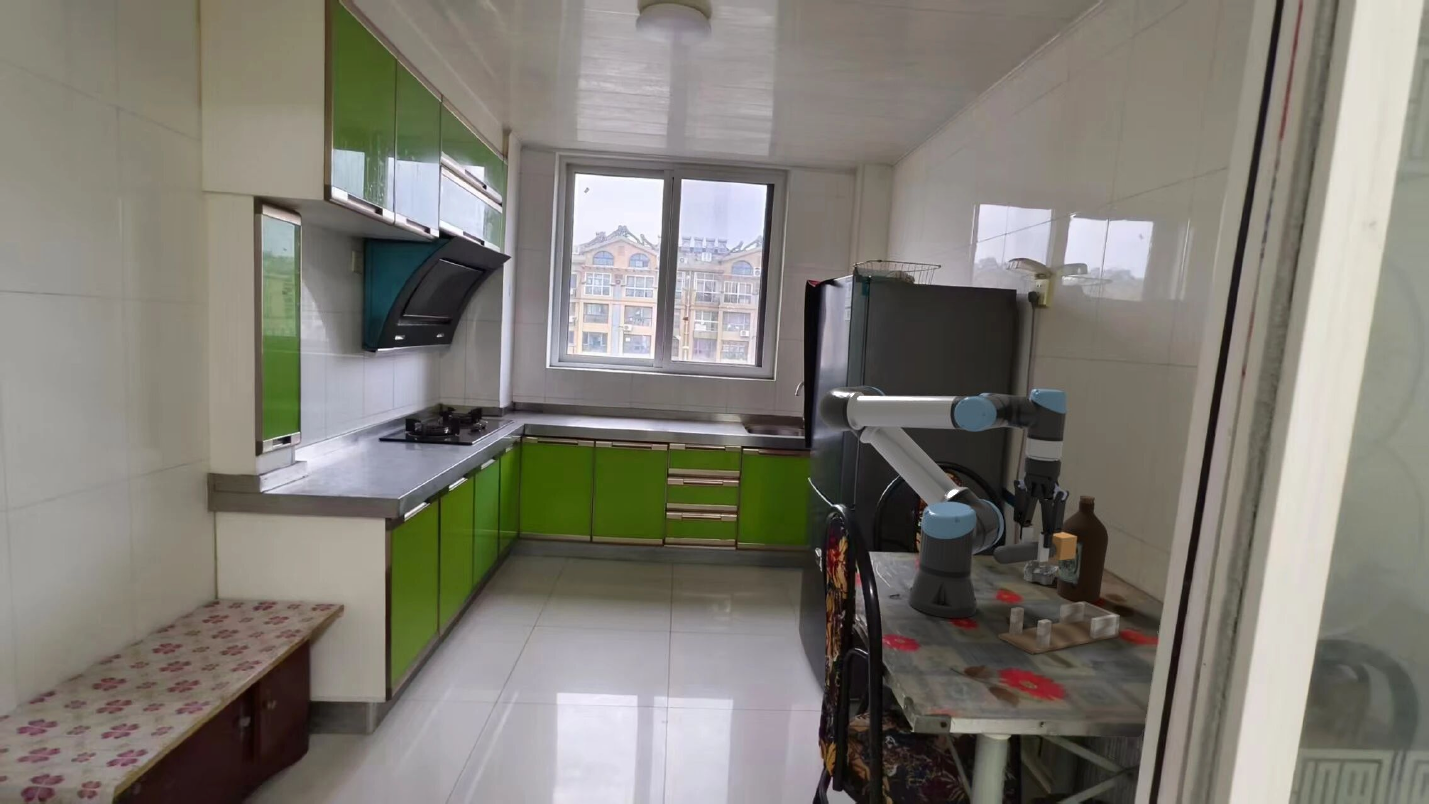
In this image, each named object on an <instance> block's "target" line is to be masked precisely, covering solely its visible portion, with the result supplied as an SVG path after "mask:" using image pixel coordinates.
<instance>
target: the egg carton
mask: <svg viewBox="0 0 1429 804" xmlns="http://www.w3.org/2000/svg"><path fill="white" fill-rule="evenodd" d="M1057 571H1058V565H1057V566H1056V565H1052V564H1051V565H1047V564H1046V563H1044V565H1040V562H1038V561H1037V560H1031V561H1026V563H1025V566H1024V567H1023V574H1024V577H1023V580H1025V581H1027V582H1029V583H1033V582H1035V583H1039V584H1041V585H1044V586H1046V585H1052V584H1053V582H1054V579H1055V578H1056V572H1057Z"/></svg>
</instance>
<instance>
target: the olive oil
mask: <svg viewBox="0 0 1429 804" xmlns="http://www.w3.org/2000/svg"><path fill="white" fill-rule="evenodd" d="M1079 499H1080V500H1079V501H1078V510H1077V511H1076V512H1075V513H1073V514H1072V515H1071V516H1070V517H1068V518H1067V519H1066V520H1065V521H1063V528H1062V532H1064V533H1067V534H1071V535H1074V536H1077V542H1076V552H1075V558H1073V559H1066V560H1058V563H1057V564H1058V565H1057V566H1058V569H1057V583H1056V584H1057V585H1056V586H1057V587H1056V593H1057V594H1058V595H1059V596H1060V597H1062V598H1064V599H1066V600H1070V601H1074V602H1076V603H1077V602H1083V601H1085V602H1087V603H1090V604H1093V603H1098V601H1099V600H1100V598H1101V597H1100V596H1101V589H1102V581H1103V577H1104V576H1103V575H1104V568H1105V563H1106V562H1105V561H1106V557H1107V556H1106V555H1107V550H1108V549H1107V548H1108V544H1109V534H1108V531H1107V528H1106V526H1105V525H1104V524H1103V523H1102V521H1101V520H1100V519H1099V518H1098V516H1097V515H1096V514H1095V513H1094V512H1095V511H1094V510H1095V506H1096V505H1095V497H1094V496H1091V495H1080V496H1079Z"/></svg>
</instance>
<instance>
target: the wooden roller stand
mask: <svg viewBox="0 0 1429 804" xmlns="http://www.w3.org/2000/svg"><path fill="white" fill-rule="evenodd" d="M1024 612H1025V608H1023V607H1021V606H1016V607H1012V608H1011V609H1010V618H1009V629H1008V632H1003V633H998V635H997V638H998V639H1000V640H1002V641H1004V640H1005V642H1006V641H1007V643H1009V644H1010V643H1011V644H1010V645H1012V646H1014V647H1016V648H1018V649H1020V648H1021V650H1022V651H1024V650H1025V653H1028V654H1030V655H1035V654H1034V653H1036V654H1039V653H1040V654H1041V653H1044V652H1050V651H1054V650H1061V649H1065V648H1069V647H1073V646H1074V647H1075V646H1078V645H1083V644H1087V643H1093V642H1099V641H1103V640H1107V639H1112V638H1115V637H1116V638H1117V637H1119V634H1120V633H1119V628H1120V627H1119V626H1120V615H1119V614H1117V613H1114V612H1112V611H1110V610H1107V609H1104V608H1101V607H1099V606H1097V605H1094V604H1093V603H1087V602H1085V601H1083V602H1077V601H1076V602H1072V603H1066V604H1061V605H1060V609H1059V618H1058V619H1059V620H1058V622H1056V623H1052V621H1051V620H1049V619H1040V620H1038V621H1037V626H1035V627H1030V628H1025V629H1023V626H1024V625H1023V624H1024V614H1025V613H1024Z"/></svg>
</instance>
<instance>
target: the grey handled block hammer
mask: <svg viewBox="0 0 1429 804" xmlns="http://www.w3.org/2000/svg"><path fill="white" fill-rule="evenodd" d="M1076 542H1077V536H1074V535H1071V534H1067V533H1064V532H1061V533H1056V534H1054V535H1053V541H1052V547H1051V548H1049V557H1048V559H1051V558H1052V559H1055V560H1058V561H1059V560H1066V559H1073V558H1075V552H1076ZM1038 544H1039V540H1038V541H1032V542H1030V543H1022V544H1021V543H1016V544H1015V543H1014V544H1013V543H1012V544H1006V545H1000V546H997V547H995V549H994V551H993V554H992V555H993V558H994V560H995V561H996V563H998V564H1001V565H1008V564H1009V565H1010V564H1015V563H1023V562H1028V561H1031V560H1036V561H1037V555H1038Z"/></svg>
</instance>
